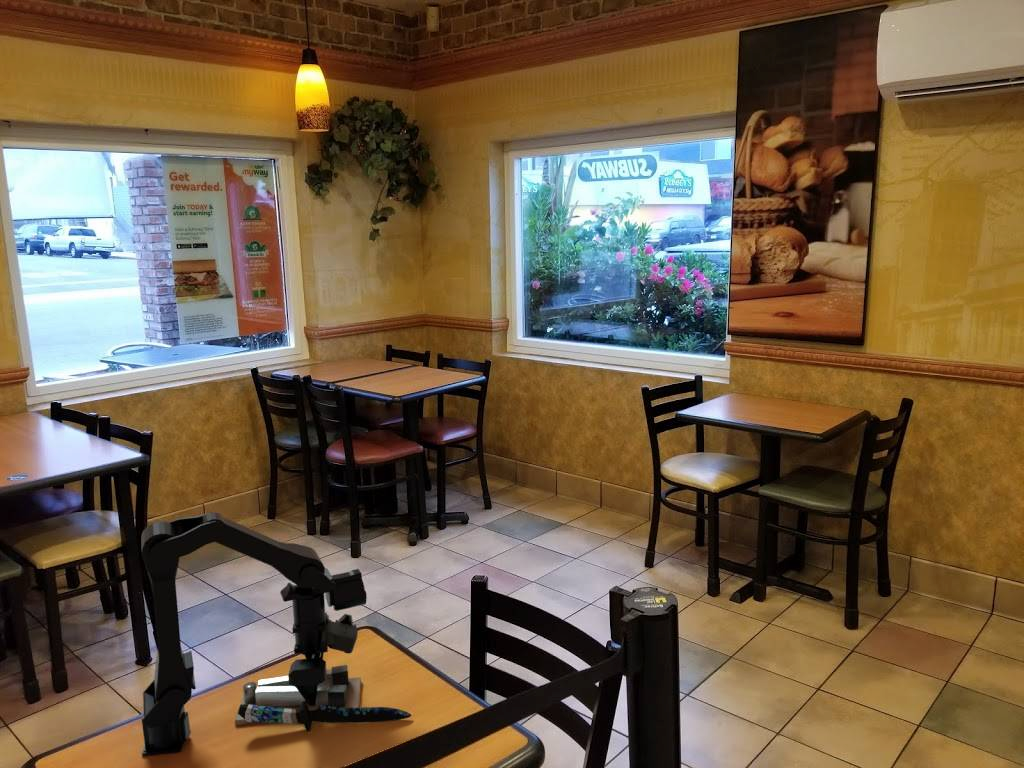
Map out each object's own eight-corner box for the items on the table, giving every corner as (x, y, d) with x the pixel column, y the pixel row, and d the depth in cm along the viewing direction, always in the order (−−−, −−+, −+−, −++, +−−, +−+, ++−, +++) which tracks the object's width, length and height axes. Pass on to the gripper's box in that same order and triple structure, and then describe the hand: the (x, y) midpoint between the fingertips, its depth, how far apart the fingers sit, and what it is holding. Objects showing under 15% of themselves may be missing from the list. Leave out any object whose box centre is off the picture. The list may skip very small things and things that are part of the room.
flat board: (235, 725, 140) (234, 720, 139) (245, 692, 149) (245, 687, 149) (358, 713, 143) (358, 708, 142) (361, 681, 152) (360, 677, 152)
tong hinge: (243, 705, 143) (241, 690, 143) (245, 697, 146) (244, 682, 145) (256, 704, 144) (255, 688, 143) (258, 696, 146) (257, 681, 145)
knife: (236, 729, 136) (236, 707, 135) (241, 718, 139) (241, 696, 138) (409, 738, 139) (410, 716, 138) (410, 726, 142) (412, 705, 141)
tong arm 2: (259, 699, 145) (258, 685, 144) (260, 692, 147) (258, 678, 146) (348, 684, 149) (347, 670, 149) (348, 678, 151) (347, 664, 151)
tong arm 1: (255, 708, 142) (254, 693, 142) (259, 701, 144) (257, 686, 144) (344, 706, 143) (343, 691, 142) (347, 699, 145) (346, 684, 144)
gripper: (350, 638, 135) (355, 717, 138) (356, 588, 153) (360, 659, 156) (285, 643, 133) (291, 723, 136) (298, 593, 151) (304, 664, 155)
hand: (315, 690), depth 146 cm, fingers open, 9 cm apart
